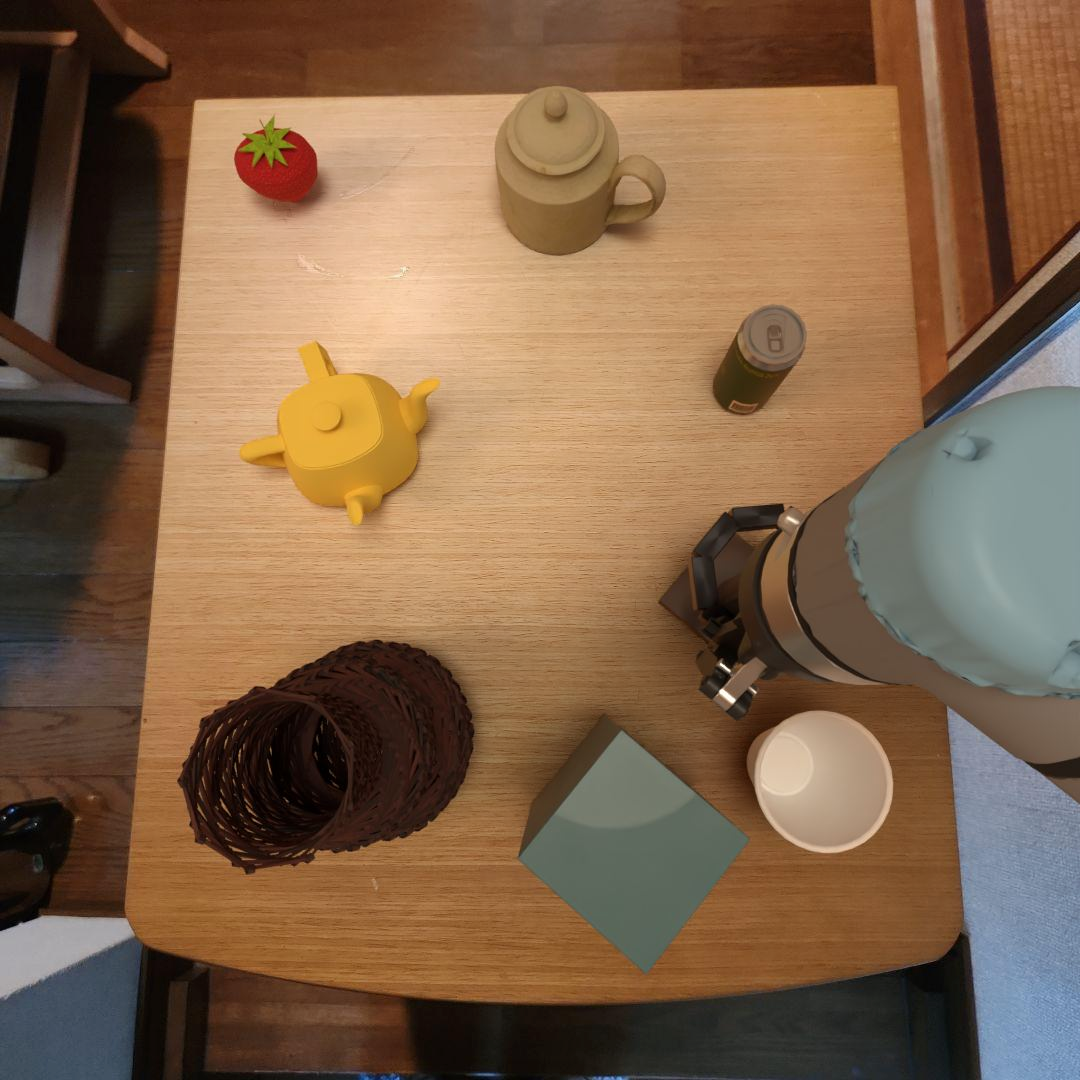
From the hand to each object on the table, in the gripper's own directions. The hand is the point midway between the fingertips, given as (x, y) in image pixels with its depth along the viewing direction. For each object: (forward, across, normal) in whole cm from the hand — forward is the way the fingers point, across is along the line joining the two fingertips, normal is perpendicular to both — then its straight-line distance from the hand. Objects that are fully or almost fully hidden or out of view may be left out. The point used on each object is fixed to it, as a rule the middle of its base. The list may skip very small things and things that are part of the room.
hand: (728, 625), depth 56 cm
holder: (+13, -4, 0) cm, 14 cm away
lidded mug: (+13, -26, -35) cm, 45 cm away
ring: (+1, -4, 0) cm, 5 cm away
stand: (+13, +16, +3) cm, 21 cm away
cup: (+13, +4, +12) cm, 19 cm away
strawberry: (+13, -8, -57) cm, 59 cm away
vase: (+13, +24, -15) cm, 31 cm away
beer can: (+13, -20, -11) cm, 27 cm away
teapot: (+13, +6, -34) cm, 37 cm away
